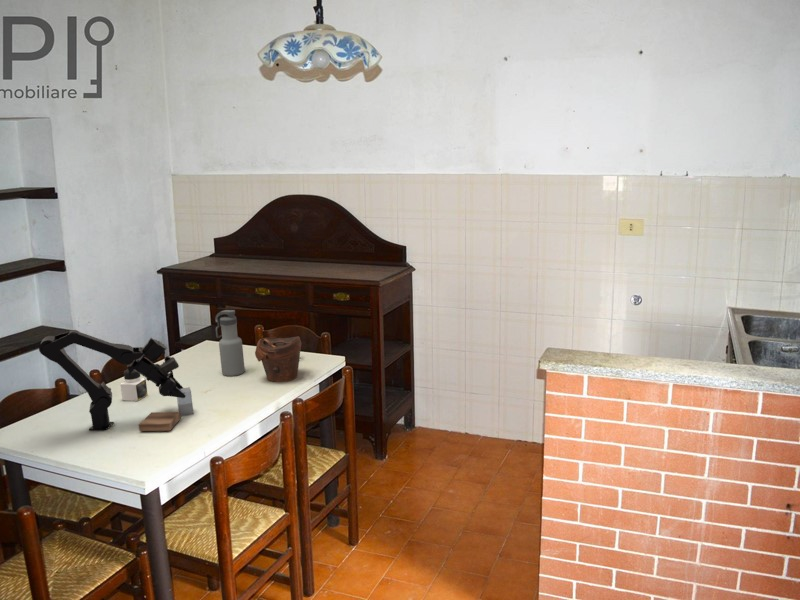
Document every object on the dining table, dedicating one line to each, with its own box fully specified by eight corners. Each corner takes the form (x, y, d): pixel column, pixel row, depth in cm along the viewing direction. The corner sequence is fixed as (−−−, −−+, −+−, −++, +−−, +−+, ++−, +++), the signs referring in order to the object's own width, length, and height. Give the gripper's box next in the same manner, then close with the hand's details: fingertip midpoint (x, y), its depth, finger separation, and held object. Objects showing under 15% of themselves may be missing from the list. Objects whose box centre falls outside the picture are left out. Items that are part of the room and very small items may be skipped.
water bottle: (216, 375, 307) (210, 313, 301) (228, 368, 316) (222, 307, 310) (237, 377, 304) (231, 314, 298) (249, 370, 313) (243, 308, 307)
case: (252, 375, 305) (249, 335, 301) (296, 367, 314) (293, 328, 310) (264, 388, 290) (261, 346, 286) (310, 379, 299) (308, 338, 294)
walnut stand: (170, 431, 250) (169, 424, 249) (139, 432, 250) (138, 424, 250) (181, 419, 260) (180, 411, 260) (152, 420, 261) (151, 412, 260)
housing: (193, 414, 265) (191, 391, 263) (179, 416, 264) (177, 393, 262) (192, 409, 270) (189, 387, 268) (178, 411, 268) (175, 389, 266)
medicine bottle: (138, 401, 281) (134, 372, 278) (122, 400, 282) (118, 372, 280) (148, 394, 288) (144, 366, 285) (132, 394, 289) (128, 366, 286)
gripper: (165, 359, 251) (200, 383, 257) (161, 346, 268) (195, 368, 274) (144, 384, 250) (180, 407, 256) (142, 369, 267) (176, 391, 273)
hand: (183, 393), depth 265 cm, fingers open, 9 cm apart
